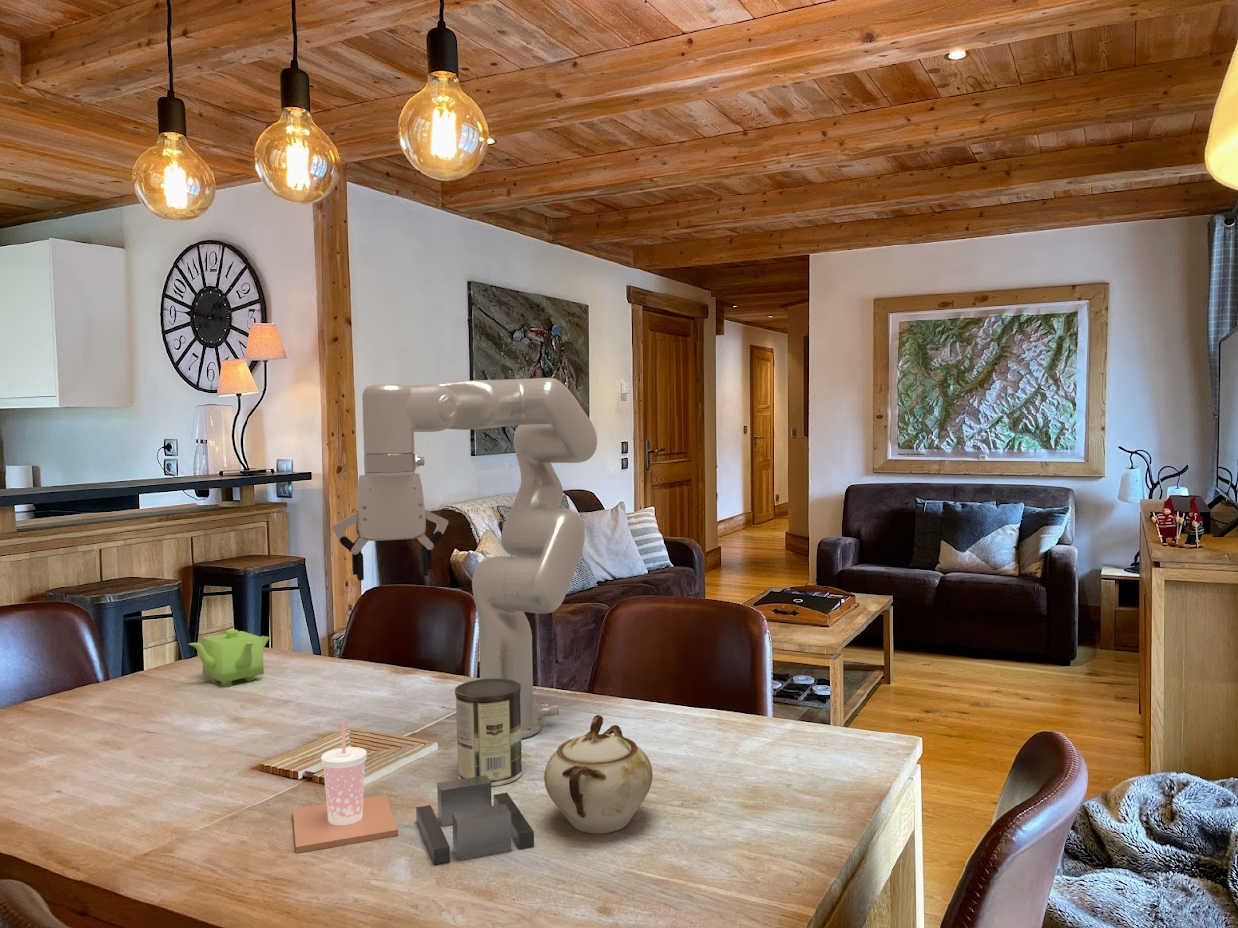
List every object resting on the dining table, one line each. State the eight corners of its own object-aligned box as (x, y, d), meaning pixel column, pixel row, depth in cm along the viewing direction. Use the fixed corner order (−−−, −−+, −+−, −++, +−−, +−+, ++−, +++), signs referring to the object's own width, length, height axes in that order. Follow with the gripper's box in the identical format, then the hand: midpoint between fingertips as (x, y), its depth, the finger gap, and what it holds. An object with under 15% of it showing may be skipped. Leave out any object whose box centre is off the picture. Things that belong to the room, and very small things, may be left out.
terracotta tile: (385, 799, 135) (385, 794, 135) (398, 835, 123) (397, 829, 123) (292, 814, 130) (292, 808, 130) (295, 852, 118) (295, 846, 118)
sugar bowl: (629, 860, 115) (627, 742, 114) (520, 845, 119) (518, 732, 119) (669, 799, 133) (667, 698, 133) (573, 788, 138) (571, 690, 138)
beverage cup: (359, 827, 123) (357, 725, 123) (315, 827, 124) (312, 725, 123) (374, 808, 130) (371, 711, 129) (331, 808, 130) (329, 711, 129)
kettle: (254, 688, 196) (252, 636, 195) (187, 691, 195) (185, 639, 194) (276, 670, 211) (274, 622, 210) (213, 672, 210) (212, 624, 209)
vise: (507, 805, 132) (506, 771, 132) (534, 846, 119) (533, 808, 119) (416, 821, 127) (415, 786, 127) (434, 865, 114) (433, 825, 114)
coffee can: (496, 758, 151) (494, 674, 151) (535, 774, 144) (534, 686, 144) (443, 775, 144) (441, 687, 144) (482, 793, 137) (480, 700, 136)
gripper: (441, 463, 146) (444, 569, 146) (328, 466, 139) (332, 577, 140) (450, 464, 139) (453, 576, 139) (332, 468, 132) (335, 585, 133)
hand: (392, 576), depth 140 cm, fingers open, 9 cm apart
